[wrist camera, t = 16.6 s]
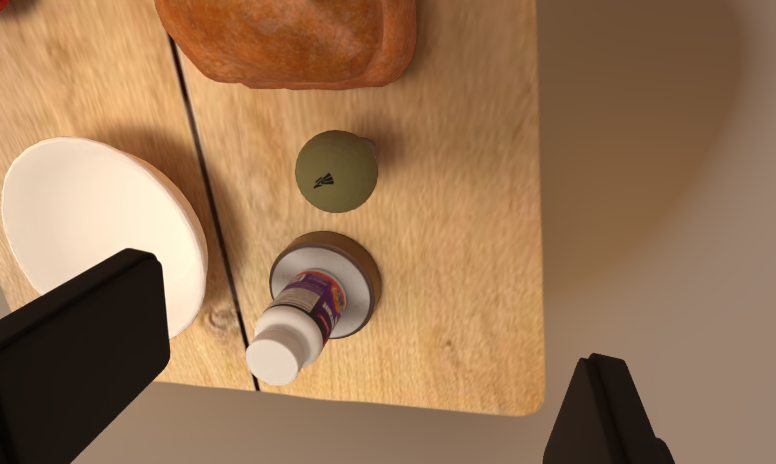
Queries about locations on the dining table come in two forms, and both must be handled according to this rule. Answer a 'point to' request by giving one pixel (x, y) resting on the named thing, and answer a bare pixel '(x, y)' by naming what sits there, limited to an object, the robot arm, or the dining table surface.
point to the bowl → (101, 219)
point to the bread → (294, 41)
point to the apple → (3, 4)
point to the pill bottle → (295, 327)
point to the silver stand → (343, 264)
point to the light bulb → (337, 171)
